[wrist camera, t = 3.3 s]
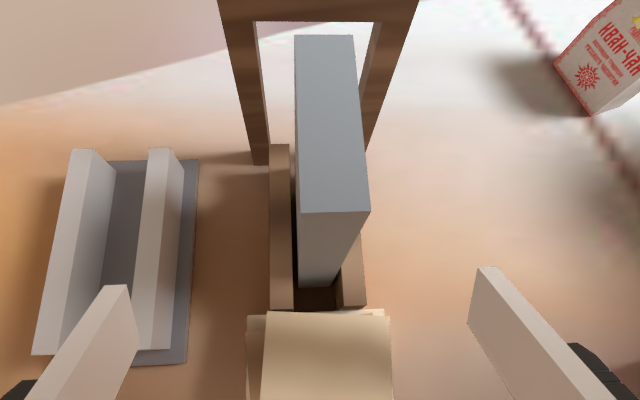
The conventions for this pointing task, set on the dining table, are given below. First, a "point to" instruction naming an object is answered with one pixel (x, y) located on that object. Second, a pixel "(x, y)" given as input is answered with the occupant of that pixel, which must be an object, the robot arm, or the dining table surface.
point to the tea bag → (605, 59)
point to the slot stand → (124, 250)
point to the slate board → (327, 156)
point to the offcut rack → (281, 321)
